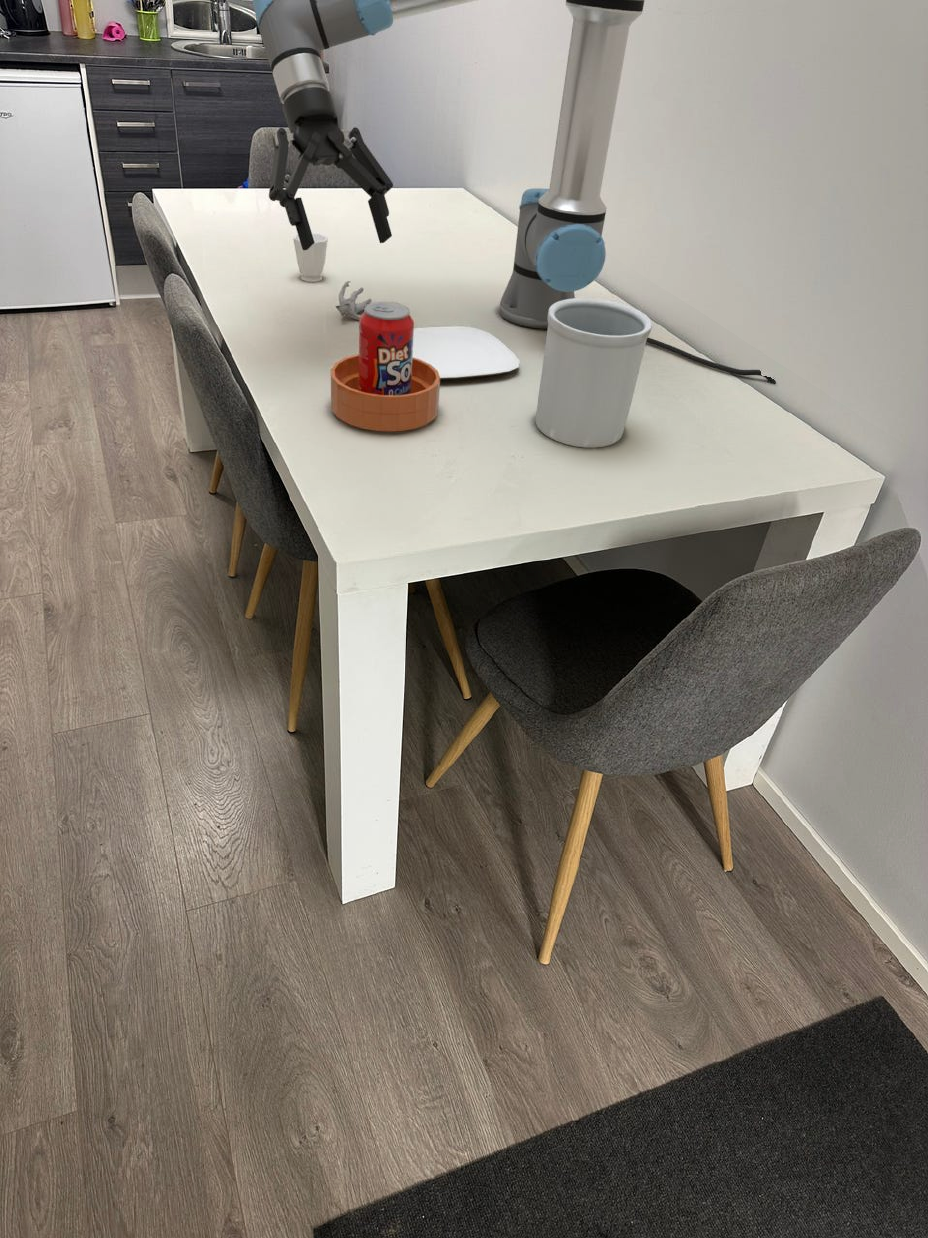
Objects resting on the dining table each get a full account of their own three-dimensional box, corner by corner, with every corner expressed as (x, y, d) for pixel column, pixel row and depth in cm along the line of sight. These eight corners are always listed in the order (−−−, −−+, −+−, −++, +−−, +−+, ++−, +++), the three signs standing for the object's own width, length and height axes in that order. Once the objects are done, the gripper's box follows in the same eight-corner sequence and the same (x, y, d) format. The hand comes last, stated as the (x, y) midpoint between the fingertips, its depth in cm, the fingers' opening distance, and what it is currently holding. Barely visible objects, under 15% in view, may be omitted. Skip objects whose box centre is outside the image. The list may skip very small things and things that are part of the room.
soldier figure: (382, 313, 169) (372, 313, 158) (363, 329, 171) (351, 330, 159) (356, 279, 168) (344, 277, 156) (337, 295, 169) (324, 294, 157)
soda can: (364, 393, 136) (366, 296, 127) (414, 399, 136) (419, 303, 127) (353, 414, 130) (353, 314, 121) (404, 421, 130) (409, 321, 120)
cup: (298, 284, 175) (296, 242, 170) (288, 268, 182) (286, 228, 177) (332, 283, 177) (331, 242, 172) (321, 268, 185) (320, 227, 180)
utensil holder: (643, 447, 131) (670, 333, 120) (552, 453, 127) (571, 336, 116) (604, 405, 142) (625, 296, 131) (518, 409, 138) (533, 298, 127)
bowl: (445, 397, 139) (448, 360, 135) (426, 442, 126) (428, 403, 123) (346, 382, 140) (346, 346, 136) (318, 425, 128) (317, 387, 124)
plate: (370, 339, 155) (370, 330, 154) (480, 331, 163) (481, 322, 162) (413, 389, 140) (413, 379, 139) (532, 378, 148) (533, 368, 147)
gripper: (366, 111, 138) (404, 246, 141) (219, 111, 125) (264, 259, 128) (388, 85, 132) (427, 226, 135) (236, 82, 119) (283, 238, 122)
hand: (348, 243), depth 132 cm, fingers open, 13 cm apart
